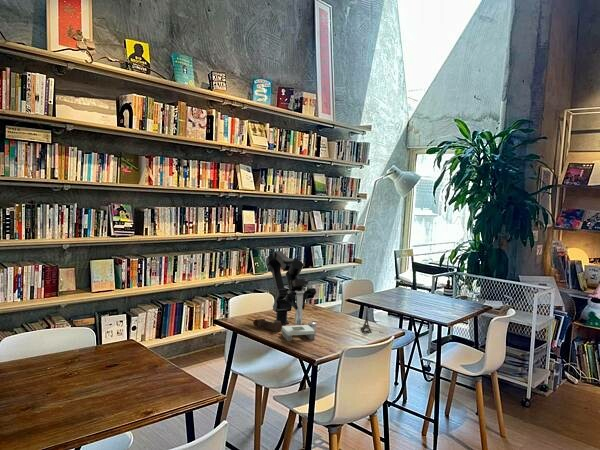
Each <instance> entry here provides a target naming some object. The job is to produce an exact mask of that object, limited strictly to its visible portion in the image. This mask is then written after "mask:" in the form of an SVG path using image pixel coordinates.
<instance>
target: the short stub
mask: <svg viewBox="0 0 600 450" xmlns="http://www.w3.org/2000/svg"><path fill="white" fill-rule="evenodd" d="M307 325H309V326H310V327H311V328H312V329H313V330H315V334H316V331H317V330H316V329H317V326H318V322H316V321H308V323H307Z"/></svg>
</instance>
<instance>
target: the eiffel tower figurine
mask: <svg viewBox="0 0 600 450" xmlns="http://www.w3.org/2000/svg"><path fill="white" fill-rule="evenodd" d="M368 309H369V308H368V307H366V311H365V312H366V314H365V320H364V323H363V326H359V327H358V329H359V330H360V332H361V333H363V334H365V333H366V334H368V333H369V334H373V331H375V332H378V333H379V334H385V332H384V331H380V330H377V329H373V328H370V324H369V317H368V316H369V315H368V313H369V312H368ZM350 330H356V327H352V328H350Z"/></svg>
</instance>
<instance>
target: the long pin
mask: <svg viewBox="0 0 600 450" xmlns="http://www.w3.org/2000/svg"><path fill="white" fill-rule="evenodd" d="M305 291H306V290H304V289H302V290H295V293H296V296H295V302H296V305H297V310H295V317H294V324H295V325H303V293H305Z"/></svg>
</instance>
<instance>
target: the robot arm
mask: <svg viewBox="0 0 600 450" xmlns="http://www.w3.org/2000/svg"><path fill="white" fill-rule="evenodd" d="M265 265H266V267H267V270H268V271H269V272H271V274H272V280H273V284H274V287H275V288H274V289H275V292H276V293H275V294H276V295H275V299H274V303H273V304H272V310H273V311H274V312H275V313H276V314H275V319H274V320H273V321H274V322H276V321H280V322H281V323H282V325H284V324H285V325H286V324H288V325H289V324H290V322H289V321H288V312H291V311H292V308H294V310H295V311H296V310H297V305H296V298H295V297H296V293H295V290H304V287H305V286H307V285H309V280H308V277H303V278H299V275H300V274H301V273H302V271H303V267H304V263H303V262H302V261H301V260H299V258H298V257H294V258H289V257H288V256H287V255H285V253H284V251H282V250H275V251H272V253H270V254H269V255H268V256H267V257H266V260H265ZM281 270H282V271H281ZM282 272H286V273H285V277H284V278H285V279H286V282H287V288H285V285H284V284H285V283H284V281H283V276H282ZM287 289H288V290H287ZM304 291H305V293H303V310H305V307H306V300H311V299H314V298H315V297H316V294H317V289H316V288H315V287H308V288H306V289H305V290H304ZM303 310H302V311H303Z"/></svg>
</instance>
